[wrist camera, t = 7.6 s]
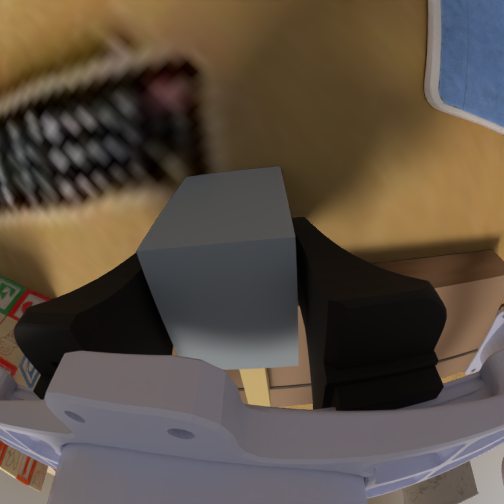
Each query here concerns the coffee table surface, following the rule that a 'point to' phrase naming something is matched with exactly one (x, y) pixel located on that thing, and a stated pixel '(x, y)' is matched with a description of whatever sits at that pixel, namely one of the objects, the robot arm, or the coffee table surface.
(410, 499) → the concrete cylinder
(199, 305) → the toy hammer
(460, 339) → the board
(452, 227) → the coffee table surface
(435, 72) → the tablet computer
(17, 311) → the stack of blocks
